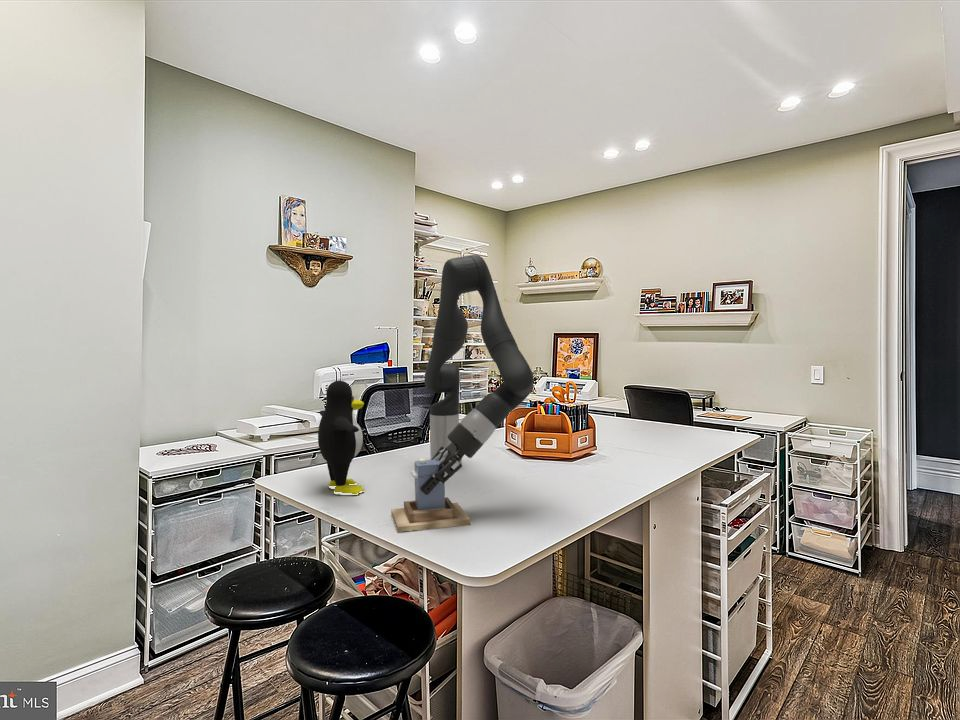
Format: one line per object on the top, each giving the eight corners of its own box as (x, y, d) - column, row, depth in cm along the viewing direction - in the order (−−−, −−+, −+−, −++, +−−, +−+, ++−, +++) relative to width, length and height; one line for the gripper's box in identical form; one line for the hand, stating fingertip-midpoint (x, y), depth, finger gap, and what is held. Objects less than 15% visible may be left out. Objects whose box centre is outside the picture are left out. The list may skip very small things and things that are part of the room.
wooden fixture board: (457, 507, 124) (457, 494, 124) (470, 524, 113) (470, 510, 113) (391, 514, 120) (391, 500, 120) (397, 532, 108) (397, 517, 108)
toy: (387, 504, 127) (385, 384, 126) (336, 513, 121) (334, 387, 119) (347, 471, 159) (345, 375, 157) (306, 477, 153) (303, 377, 151)
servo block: (444, 501, 120) (443, 454, 119) (448, 507, 115) (448, 459, 115) (411, 504, 117) (410, 457, 117) (414, 510, 113) (413, 461, 113)
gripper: (453, 417, 124) (404, 470, 122) (468, 427, 111) (414, 487, 108) (474, 437, 126) (427, 490, 123) (492, 449, 112) (439, 509, 110)
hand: (421, 488), depth 116 cm, fingers closed on servo block, 4 cm apart
